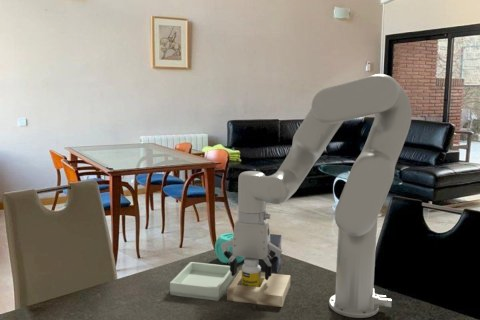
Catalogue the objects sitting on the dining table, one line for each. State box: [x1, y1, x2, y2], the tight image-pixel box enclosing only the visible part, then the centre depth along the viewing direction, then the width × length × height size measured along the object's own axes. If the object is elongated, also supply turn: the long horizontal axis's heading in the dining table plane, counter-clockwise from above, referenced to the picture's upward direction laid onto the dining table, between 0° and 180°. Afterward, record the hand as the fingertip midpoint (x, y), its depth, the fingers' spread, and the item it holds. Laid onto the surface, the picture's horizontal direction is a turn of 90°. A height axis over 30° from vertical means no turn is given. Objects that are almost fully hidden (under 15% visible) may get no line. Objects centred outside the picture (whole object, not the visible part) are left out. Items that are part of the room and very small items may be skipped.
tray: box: [169, 261, 236, 302], centre depth 136 cm, size 14×16×4 cm
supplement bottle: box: [241, 257, 261, 287], centre depth 132 cm, size 5×5×10 cm
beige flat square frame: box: [226, 269, 291, 308], centre depth 132 cm, size 15×14×3 cm
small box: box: [258, 233, 282, 274], centre depth 146 cm, size 11×6×10 cm, turn 168°
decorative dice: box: [214, 232, 245, 265], centre depth 156 cm, size 8×8×8 cm
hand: (250, 276), depth 132 cm, fingers open, 9 cm apart
